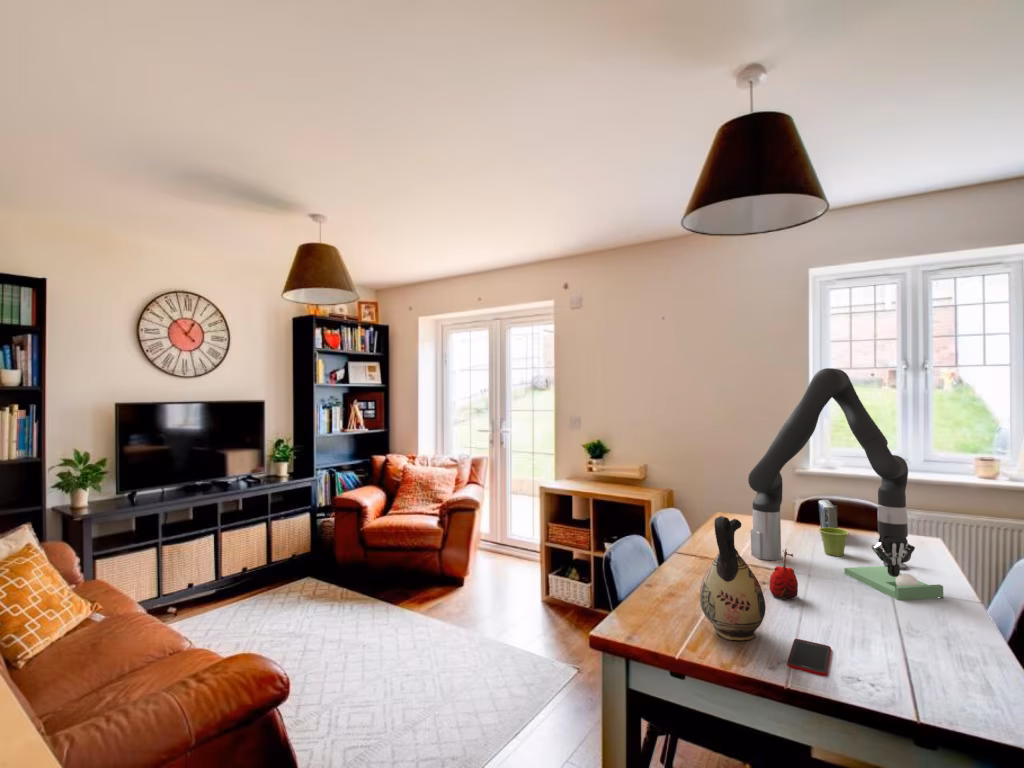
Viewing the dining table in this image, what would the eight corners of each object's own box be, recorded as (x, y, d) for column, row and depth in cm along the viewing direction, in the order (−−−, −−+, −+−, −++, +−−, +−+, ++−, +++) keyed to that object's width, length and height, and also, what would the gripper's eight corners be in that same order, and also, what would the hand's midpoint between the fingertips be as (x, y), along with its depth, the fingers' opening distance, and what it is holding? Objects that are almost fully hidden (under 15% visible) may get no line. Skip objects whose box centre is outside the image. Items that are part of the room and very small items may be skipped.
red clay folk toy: (795, 593, 157) (794, 543, 157) (801, 602, 150) (800, 550, 150) (767, 591, 159) (766, 542, 159) (772, 600, 152) (771, 548, 152)
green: (898, 600, 151) (898, 587, 151) (844, 573, 173) (844, 563, 173) (943, 597, 152) (943, 585, 152) (884, 572, 174) (883, 561, 174)
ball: (899, 571, 155) (887, 577, 160) (909, 590, 152) (897, 596, 156) (916, 570, 156) (904, 577, 160) (927, 589, 152) (914, 595, 157)
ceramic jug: (711, 614, 143) (709, 505, 143) (772, 630, 133) (770, 513, 134) (688, 637, 130) (686, 517, 130) (754, 656, 120) (751, 527, 121)
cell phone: (831, 650, 123) (831, 646, 123) (827, 678, 111) (827, 674, 111) (794, 641, 128) (794, 637, 128) (786, 668, 116) (786, 664, 116)
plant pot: (855, 557, 189) (854, 534, 189) (828, 558, 189) (828, 534, 189) (839, 550, 198) (838, 527, 198) (814, 550, 198) (813, 527, 198)
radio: (819, 528, 229) (818, 494, 229) (842, 531, 224) (841, 496, 225) (816, 541, 210) (815, 504, 210) (841, 544, 205) (840, 507, 205)
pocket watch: (884, 568, 178) (884, 538, 178) (880, 561, 185) (880, 532, 185) (914, 571, 174) (913, 541, 174) (909, 564, 181) (908, 535, 181)
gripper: (881, 523, 157) (883, 581, 157) (922, 522, 158) (924, 579, 158) (863, 517, 165) (864, 572, 164) (902, 516, 166) (903, 571, 165)
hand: (893, 575), depth 161 cm, fingers closed
